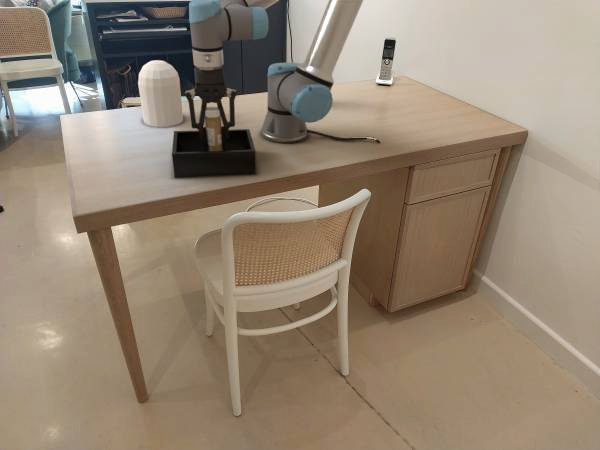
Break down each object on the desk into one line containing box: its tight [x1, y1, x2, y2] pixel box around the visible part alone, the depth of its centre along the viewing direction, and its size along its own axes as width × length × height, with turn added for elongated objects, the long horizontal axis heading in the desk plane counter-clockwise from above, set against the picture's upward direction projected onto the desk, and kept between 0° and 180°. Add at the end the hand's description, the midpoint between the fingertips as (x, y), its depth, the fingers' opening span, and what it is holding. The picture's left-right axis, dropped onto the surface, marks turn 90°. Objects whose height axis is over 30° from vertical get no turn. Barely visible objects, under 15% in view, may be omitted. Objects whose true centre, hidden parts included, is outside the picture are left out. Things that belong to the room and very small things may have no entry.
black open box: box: [171, 128, 257, 179], centre depth 128 cm, size 22×16×7 cm
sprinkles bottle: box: [204, 105, 223, 151], centre depth 125 cm, size 5×5×13 cm
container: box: [137, 59, 184, 128], centre depth 151 cm, size 13×13×20 cm
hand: (215, 150), depth 128 cm, fingers closed on sprinkles bottle, 4 cm apart
